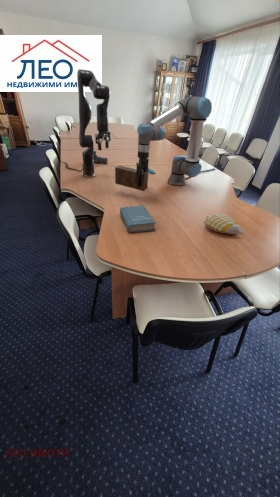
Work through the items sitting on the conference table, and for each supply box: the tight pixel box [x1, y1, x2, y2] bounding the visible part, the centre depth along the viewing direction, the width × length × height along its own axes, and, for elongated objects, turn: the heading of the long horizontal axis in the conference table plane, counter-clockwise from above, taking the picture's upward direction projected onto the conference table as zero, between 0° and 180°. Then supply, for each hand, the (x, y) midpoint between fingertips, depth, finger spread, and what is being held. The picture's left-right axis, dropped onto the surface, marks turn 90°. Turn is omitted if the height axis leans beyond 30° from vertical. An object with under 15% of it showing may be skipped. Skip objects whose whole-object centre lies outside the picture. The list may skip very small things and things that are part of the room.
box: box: [114, 165, 149, 192], centre depth 161 cm, size 24×6×12 cm, turn 62°
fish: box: [203, 213, 245, 235], centre depth 133 cm, size 25×8×20 cm
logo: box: [148, 168, 156, 175], centre depth 227 cm, size 34×10×1 cm, turn 16°
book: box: [119, 205, 156, 233], centre depth 136 cm, size 23×16×5 cm
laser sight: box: [93, 150, 108, 165], centre depth 230 cm, size 10×22×10 cm, turn 78°
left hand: (103, 149), depth 155 cm, fingers open, 8 cm apart
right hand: (141, 185), depth 160 cm, fingers closed on box, 6 cm apart
